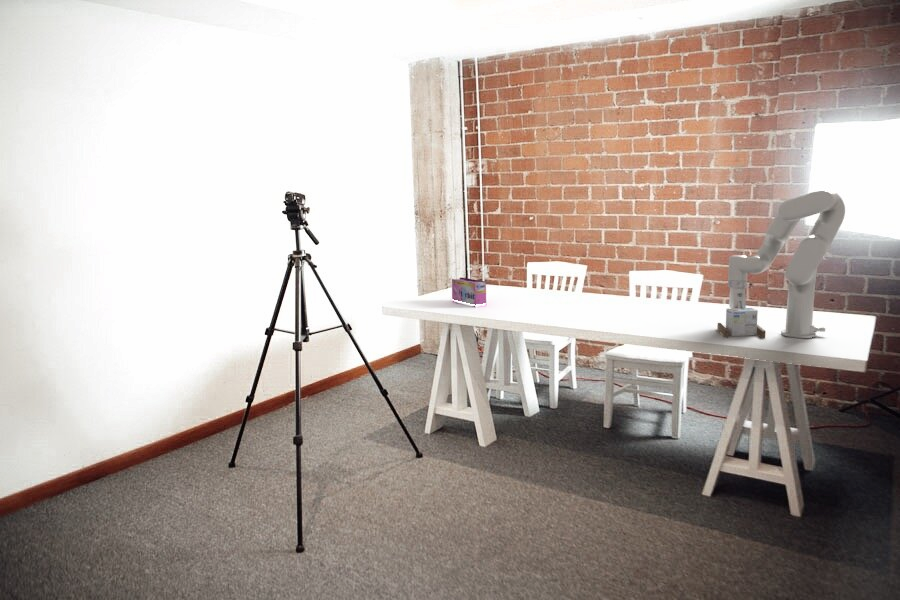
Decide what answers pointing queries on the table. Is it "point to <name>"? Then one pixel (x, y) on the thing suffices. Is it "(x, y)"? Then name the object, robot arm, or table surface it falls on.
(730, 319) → the light bulb box
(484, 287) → the gum box
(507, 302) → the table surface
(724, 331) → the walnut chute
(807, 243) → the robot arm
